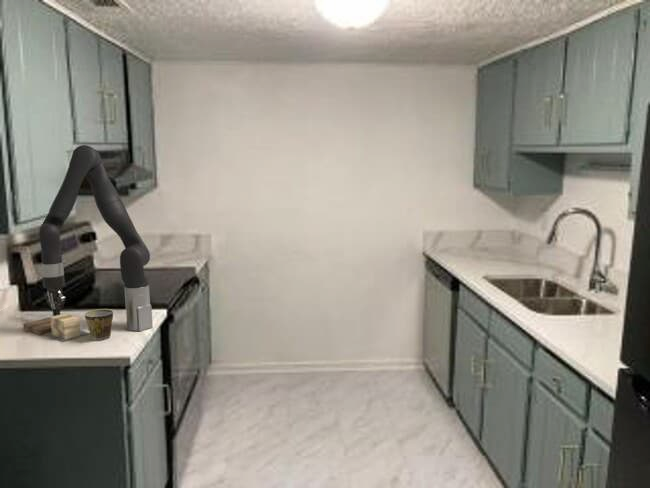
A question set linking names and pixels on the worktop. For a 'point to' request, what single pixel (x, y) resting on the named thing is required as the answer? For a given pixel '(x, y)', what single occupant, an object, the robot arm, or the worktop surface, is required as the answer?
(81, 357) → the worktop surface
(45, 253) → the robot arm
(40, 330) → the brown flat slab
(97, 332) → the ceramic cup
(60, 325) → the block
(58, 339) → the mat
